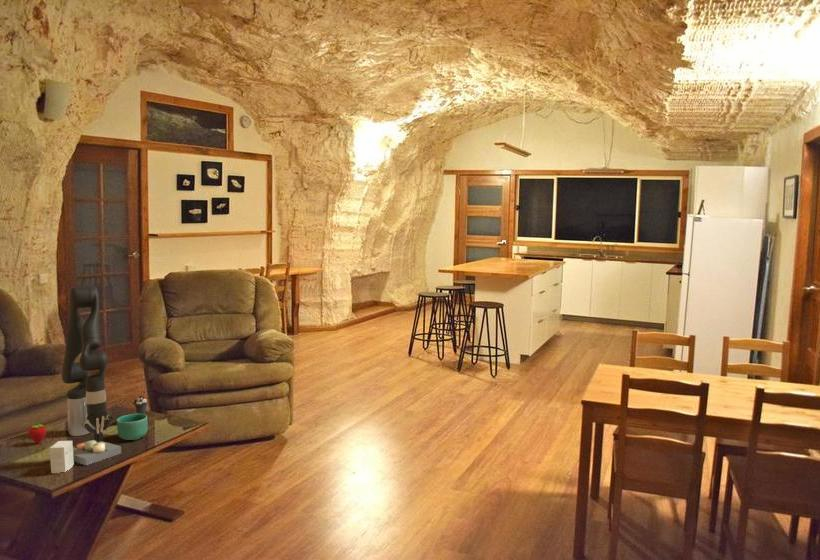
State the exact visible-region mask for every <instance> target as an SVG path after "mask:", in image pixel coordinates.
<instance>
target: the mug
mask: <svg viewBox="0 0 820 560" xmlns="http://www.w3.org/2000/svg"><path fill="white" fill-rule="evenodd" d="M116 426H117V427H116V429H117V435H118V437H119V438H120V439H123V440H125V441H127V440H134V441H137V439H138V440H140V439H142V438H143V437H145V435H147V432H148V430H149V429H148V428H149V425H148V415H147V414H146V413H145V414H137V413H131V414H125V415H122V416H120V417H118V418H117V419H116ZM141 437H142V438H141Z"/></svg>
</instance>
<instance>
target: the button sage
mask: <svg viewBox="0 0 820 560" xmlns="http://www.w3.org/2000/svg"><path fill="white" fill-rule="evenodd" d="M83 443H84V446H85V451H88V452H90V451H92V450H93V444H95V443H97V442H96V441H95V439H92V440H87V441H84V442H83Z"/></svg>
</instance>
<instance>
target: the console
mask: <svg viewBox="0 0 820 560" xmlns="http://www.w3.org/2000/svg"><path fill="white" fill-rule="evenodd" d="M97 443H105V452H102V453H99V454H95V453H93V450H92V451H90V452H88V451H85V448H83V449H78V448H77V445H75V446H73V459H74V463H75V462H76V463H75V464H79V463H80V464H79V465H82V464H83V465H82V466H85V465H87V466H90V465H92V463H93V464H95V463H98V462H100V461H104V460H106V458H107V459H109V458H112V457H115V456H117V455H118V456H119V455H120V454H122V446H120V445H117V444H113V443H110V442H106V441H103V440H102V441H101V442H97ZM103 459H104V460H103ZM94 462H95V463H94ZM89 464H90V465H89Z"/></svg>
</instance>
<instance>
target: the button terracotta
mask: <svg viewBox="0 0 820 560" xmlns="http://www.w3.org/2000/svg"><path fill="white" fill-rule="evenodd" d="M84 443H85V442H80V443H77V444H76V446H77V448H78V449H83V448H85V446H84Z"/></svg>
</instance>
